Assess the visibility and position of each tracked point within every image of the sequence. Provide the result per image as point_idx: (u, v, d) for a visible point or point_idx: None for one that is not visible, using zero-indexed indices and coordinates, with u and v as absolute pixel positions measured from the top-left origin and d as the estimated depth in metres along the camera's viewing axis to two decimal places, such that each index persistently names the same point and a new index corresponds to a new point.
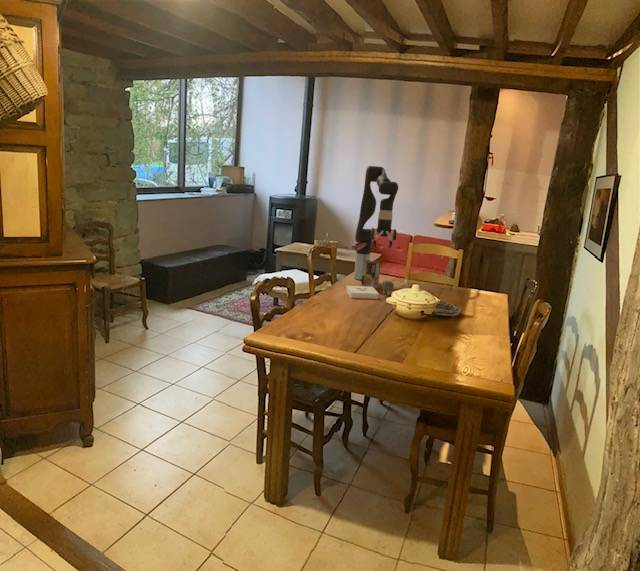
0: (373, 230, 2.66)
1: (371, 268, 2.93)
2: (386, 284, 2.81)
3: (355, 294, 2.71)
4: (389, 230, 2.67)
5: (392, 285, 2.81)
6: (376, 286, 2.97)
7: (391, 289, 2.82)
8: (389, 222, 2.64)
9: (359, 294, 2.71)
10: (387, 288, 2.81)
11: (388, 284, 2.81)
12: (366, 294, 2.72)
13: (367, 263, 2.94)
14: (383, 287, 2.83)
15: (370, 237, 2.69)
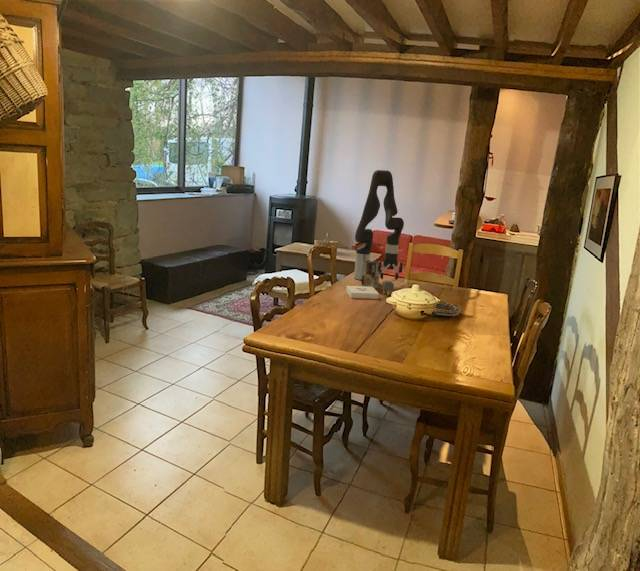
0: (380, 263, 2.78)
1: (371, 268, 2.93)
2: (386, 284, 2.81)
3: (355, 294, 2.71)
4: (395, 263, 2.80)
5: (392, 285, 2.81)
6: (376, 286, 2.97)
7: (391, 289, 2.82)
8: (395, 256, 2.76)
9: (359, 294, 2.71)
10: (387, 288, 2.81)
11: (388, 284, 2.81)
12: (366, 294, 2.72)
13: (367, 263, 2.94)
14: (383, 287, 2.83)
15: (377, 270, 2.81)
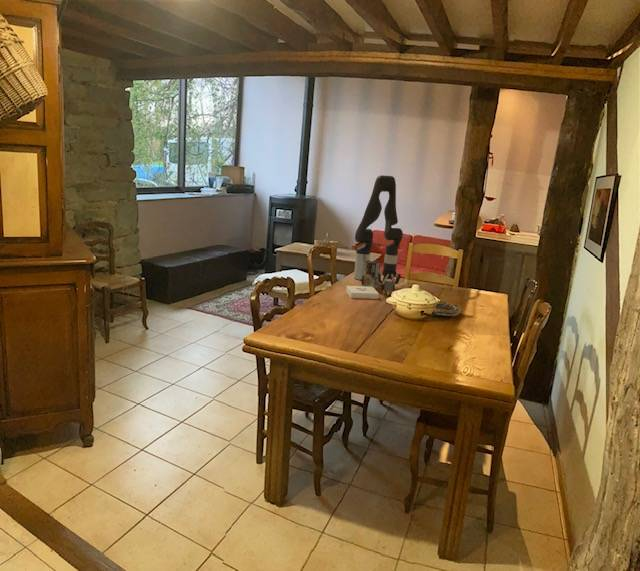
0: (379, 275, 2.80)
1: (371, 268, 2.93)
2: (386, 284, 2.81)
3: (355, 294, 2.71)
4: (394, 273, 2.81)
5: (392, 285, 2.81)
6: (376, 286, 2.97)
7: (391, 289, 2.82)
8: (394, 266, 2.78)
9: (359, 294, 2.71)
10: (387, 288, 2.81)
11: (388, 284, 2.81)
12: (366, 294, 2.72)
13: (367, 263, 2.94)
14: None
15: (378, 281, 2.83)
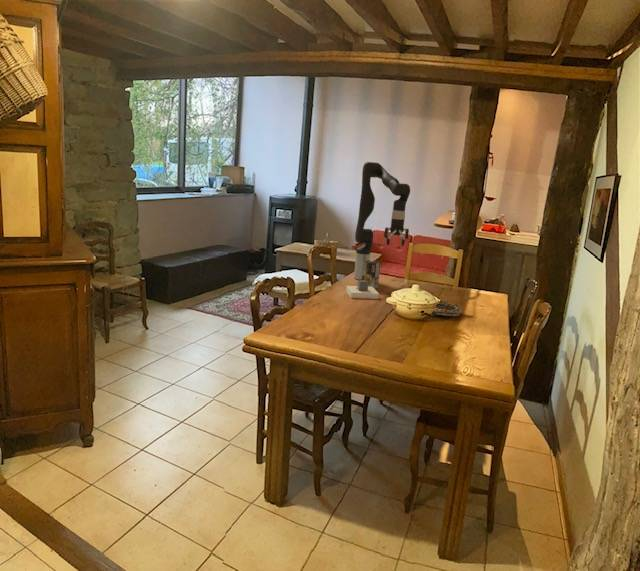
0: (387, 229, 2.82)
1: (371, 268, 2.93)
2: (360, 284, 2.76)
3: (355, 294, 2.71)
4: (402, 229, 2.83)
5: (366, 285, 2.76)
6: (376, 286, 2.97)
7: (366, 289, 2.77)
8: (402, 222, 2.80)
9: (359, 294, 2.71)
10: (361, 288, 2.76)
11: (362, 284, 2.76)
12: (366, 294, 2.72)
13: (367, 263, 2.94)
14: (358, 287, 2.78)
15: (384, 236, 2.85)
